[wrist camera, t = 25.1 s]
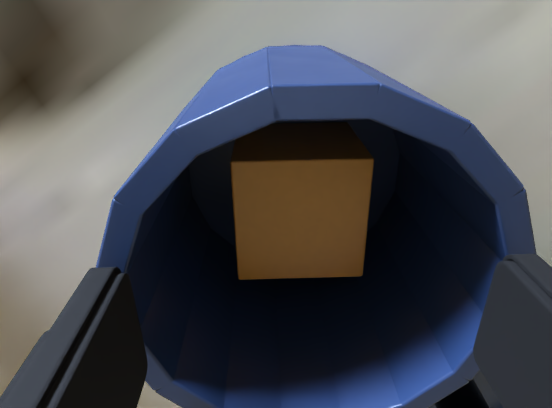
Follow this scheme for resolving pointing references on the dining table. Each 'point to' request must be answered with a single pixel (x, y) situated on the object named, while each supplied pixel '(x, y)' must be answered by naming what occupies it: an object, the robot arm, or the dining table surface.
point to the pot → (326, 290)
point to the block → (301, 201)
